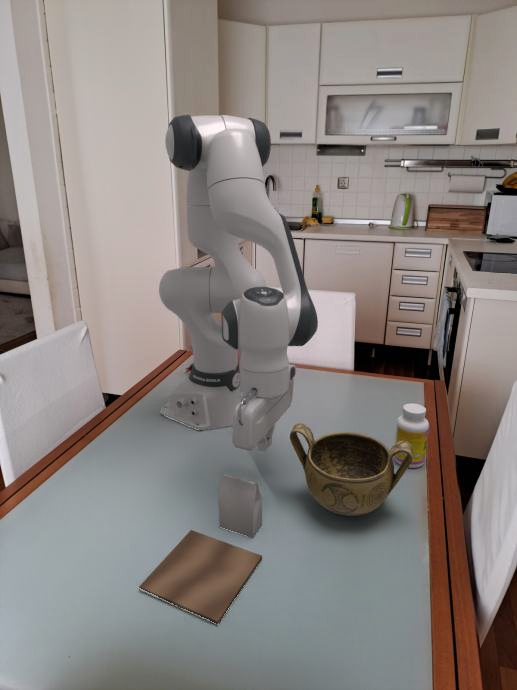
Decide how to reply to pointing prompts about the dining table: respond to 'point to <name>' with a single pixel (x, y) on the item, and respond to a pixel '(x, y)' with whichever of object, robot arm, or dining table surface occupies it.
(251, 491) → the white red-printed box
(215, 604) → the walnut board
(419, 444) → the supplement bottle
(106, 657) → the dining table surface
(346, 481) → the ceramic bowl
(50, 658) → the dining table surface
